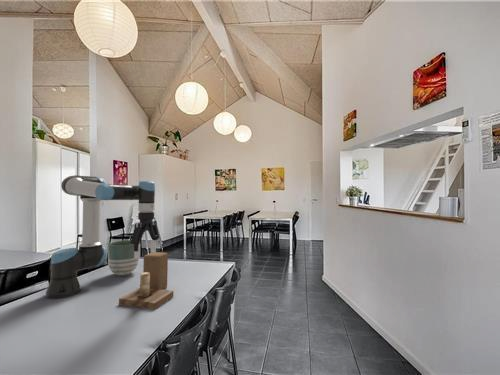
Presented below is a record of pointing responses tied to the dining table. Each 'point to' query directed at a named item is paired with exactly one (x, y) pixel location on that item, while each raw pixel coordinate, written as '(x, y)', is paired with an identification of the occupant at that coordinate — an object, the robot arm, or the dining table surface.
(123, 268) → the planter
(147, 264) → the wooden block
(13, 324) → the dining table surface
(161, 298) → the seat board
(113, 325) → the dining table surface
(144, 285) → the peg
